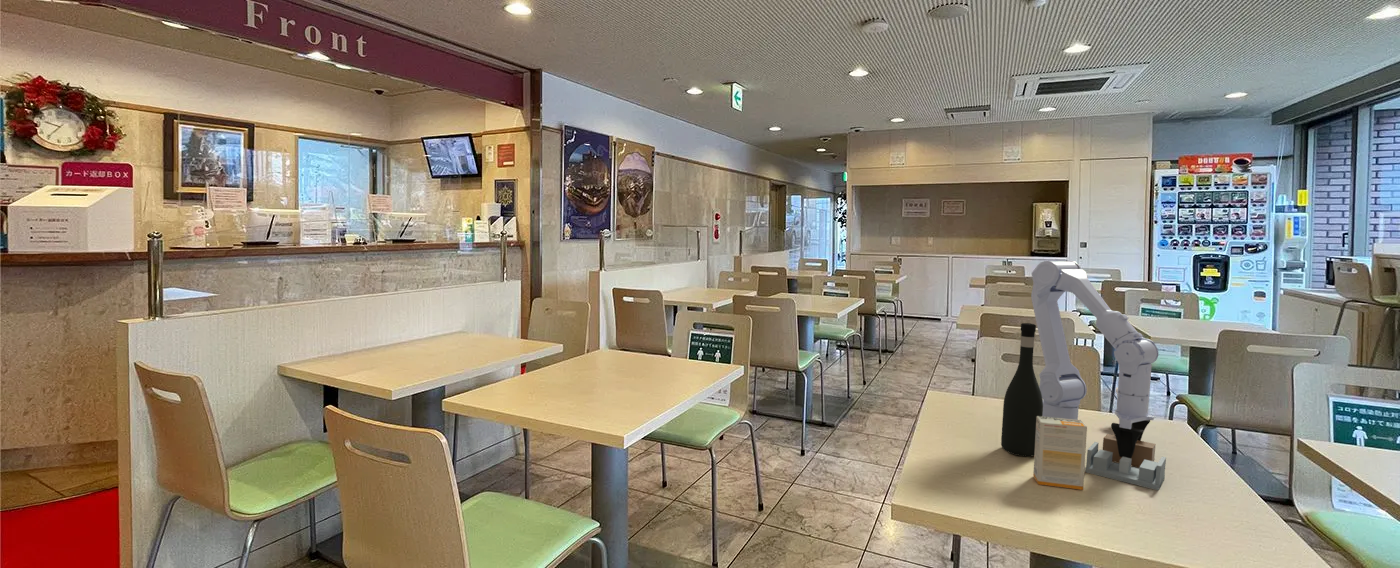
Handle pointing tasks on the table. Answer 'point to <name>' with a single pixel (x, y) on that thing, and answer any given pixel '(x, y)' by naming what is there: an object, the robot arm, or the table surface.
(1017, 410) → the wine bottle
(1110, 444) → the brown rectangular block
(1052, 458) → the supplement box
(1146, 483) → the display stand
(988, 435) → the table surface
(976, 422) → the table surface
